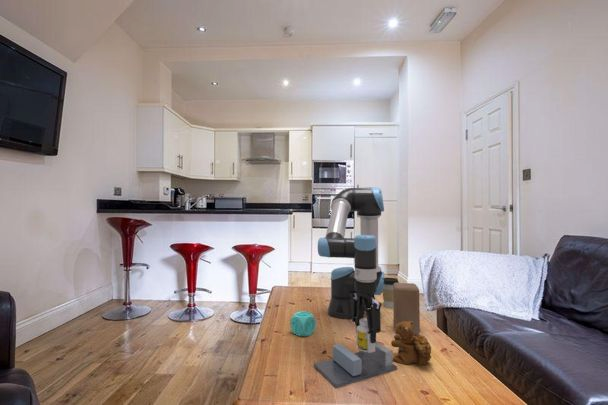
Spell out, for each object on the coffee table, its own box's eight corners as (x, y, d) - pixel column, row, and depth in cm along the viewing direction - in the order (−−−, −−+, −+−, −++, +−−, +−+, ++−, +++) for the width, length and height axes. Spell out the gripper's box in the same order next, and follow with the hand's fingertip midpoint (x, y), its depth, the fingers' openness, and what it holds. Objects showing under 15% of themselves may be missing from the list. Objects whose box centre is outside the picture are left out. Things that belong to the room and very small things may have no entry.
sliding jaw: (332, 359, 105) (332, 345, 105) (341, 357, 106) (341, 343, 106) (353, 376, 94) (353, 361, 94) (362, 373, 95) (362, 358, 96)
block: (420, 336, 127) (419, 288, 128) (395, 334, 129) (395, 287, 130) (416, 327, 137) (415, 283, 137) (393, 325, 139) (393, 282, 139)
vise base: (313, 366, 102) (313, 348, 103) (370, 351, 113) (370, 335, 113) (335, 388, 90) (335, 367, 90) (397, 369, 100) (396, 351, 101)
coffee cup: (401, 305, 168) (401, 278, 168) (396, 310, 160) (396, 282, 160) (384, 302, 173) (383, 276, 174) (378, 307, 165) (378, 279, 165)
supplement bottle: (355, 346, 106) (355, 317, 106) (370, 344, 106) (369, 316, 107) (360, 353, 100) (360, 323, 101) (376, 351, 101) (375, 322, 101)
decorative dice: (289, 333, 130) (289, 314, 131) (302, 327, 136) (302, 310, 136) (303, 338, 125) (303, 318, 125) (315, 332, 131) (315, 314, 131)
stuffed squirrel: (398, 349, 115) (398, 314, 115) (437, 361, 106) (437, 323, 106) (387, 359, 107) (387, 322, 107) (428, 373, 98) (428, 332, 99)
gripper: (341, 275, 111) (341, 339, 110) (374, 287, 94) (374, 362, 93) (358, 274, 114) (358, 336, 113) (392, 284, 98) (393, 357, 97)
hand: (365, 347), depth 103 cm, fingers closed on supplement bottle, 5 cm apart
